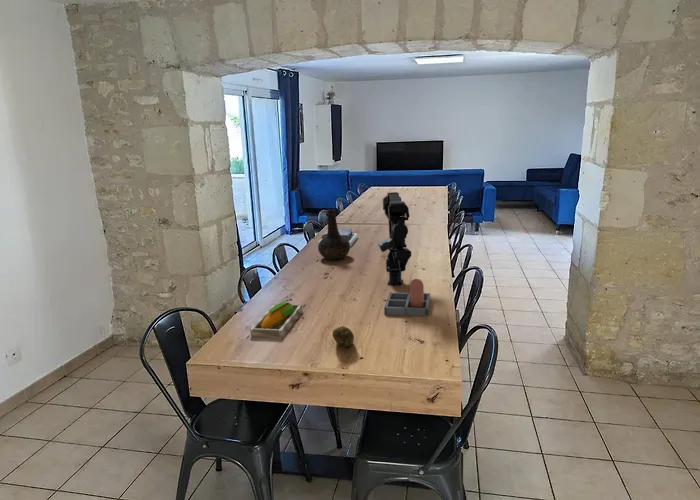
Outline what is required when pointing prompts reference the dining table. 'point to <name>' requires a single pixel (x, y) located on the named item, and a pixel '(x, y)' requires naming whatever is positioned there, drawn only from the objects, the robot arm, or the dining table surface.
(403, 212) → the robot arm
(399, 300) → the gray compartment tray
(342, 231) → the towel
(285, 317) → the corn
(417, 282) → the pink dome-topped cylinder
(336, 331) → the potato
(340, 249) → the brown vase
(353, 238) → the towel frame
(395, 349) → the dining table surface
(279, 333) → the frame
